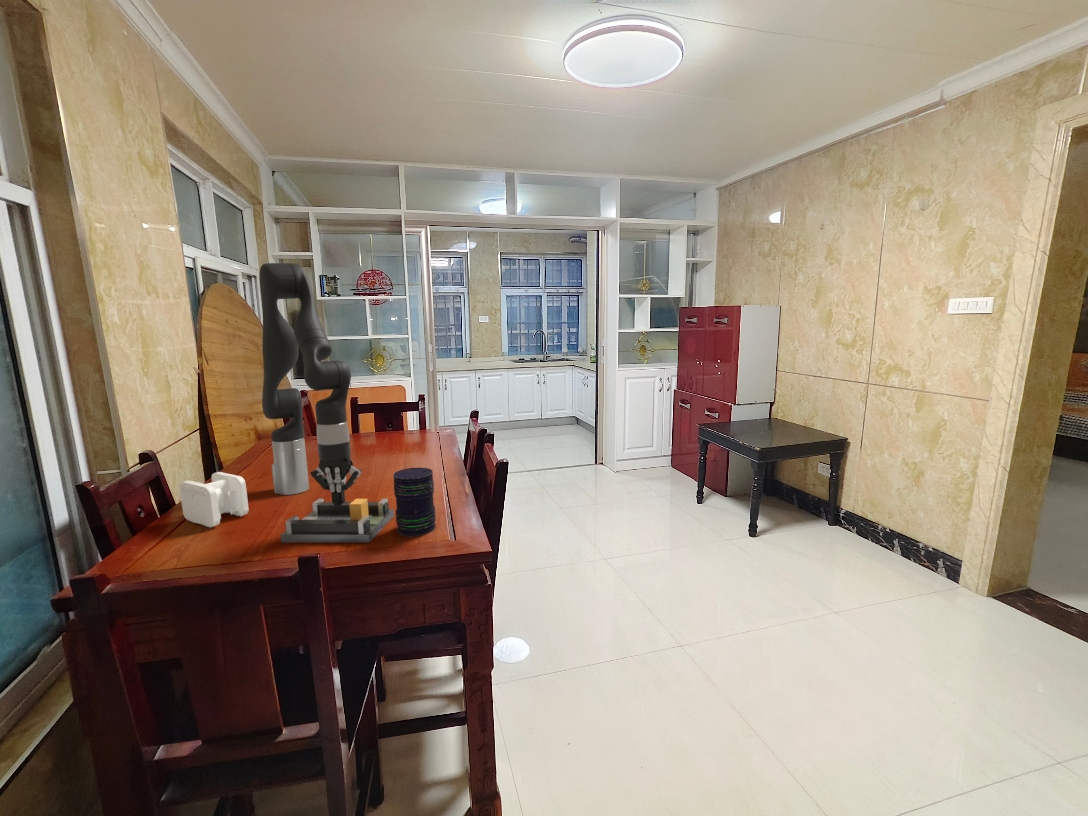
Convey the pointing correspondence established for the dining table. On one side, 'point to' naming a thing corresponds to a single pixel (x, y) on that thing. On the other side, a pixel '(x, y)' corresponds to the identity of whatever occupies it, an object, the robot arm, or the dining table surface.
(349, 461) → the robot arm
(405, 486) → the dark blue cylinder
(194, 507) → the cable organizer
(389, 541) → the dining table surface
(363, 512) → the toggle
